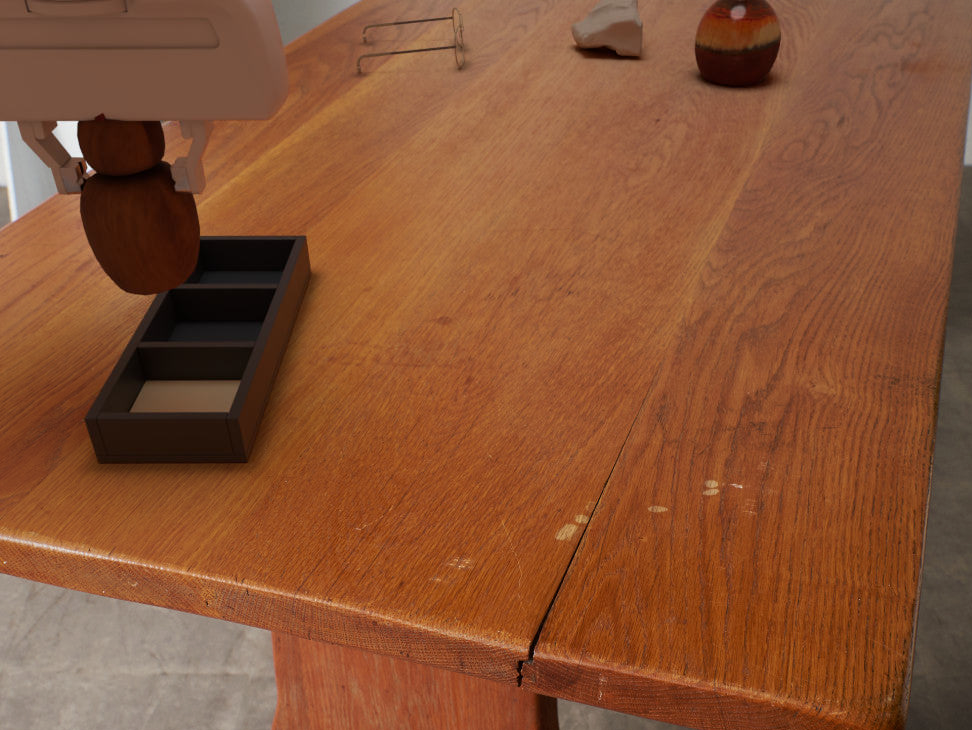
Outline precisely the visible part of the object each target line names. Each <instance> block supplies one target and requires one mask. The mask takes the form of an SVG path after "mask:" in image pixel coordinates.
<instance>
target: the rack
mask: <svg viewBox="0 0 972 730" xmlns="http://www.w3.org/2000/svg"><path fill="white" fill-rule="evenodd" d="M311 275H312V268H311V259H310V254H309V245H308V238H307V235H306V234H305V235H303V234H302V235H301V234H299V235H200V248H199V254H198V260H197V263H196V267H195V271H194V272H193V273H192V274H191V275H190V276H189V277H188V279H187V280H186V281H185V282H184V283H182V284H181V285H180V286H178V287H176V288H173V289H171V290H169V291H165V292H162V293H158V294H155V296H154V298H153V300H152V302H151V303H150V305H149V307H148V309H147V310H146V312H145V314H144V315H143V317H142V318H141V320H140V322H139V324H138V326H137V327H136V329H135V331H134V332H133V334H132V335H131V338H130V340H129V341H128V343H127V345H126V346H125V348H124V350H123V351H122V352H121V354H120V355H119V356H120V357H119V358H118V359H117V361H116V363H115V365H114V367H113V369H112V370H111V372H110V373H109V376H108V377H107V379H106V380H105V382H104V384H103V385H102V387H101V389H100V391H99V393H98V394H97V396H96V398H95V399H94V401H93V403H92V404H91V406H90V408H89V409H88V411H87V413H86V414H85V416H84V418H83V420H84V423H85V427H86V429H87V433H88V436H89V438H90V442H91V444H92V448H93V452H94V454H95V456H96V461H97V462H98V464H101V463H102V464H105V463H107V464H108V463H109V464H111V463H113V464H114V463H117V464H118V463H120V464H121V463H123V464H125V463H127V464H129V463H132V464H133V463H135V464H136V463H137V464H138V463H141V464H142V463H151V464H153V463H159V464H160V463H161V464H162V463H247V462H248V461H249V458H250V454H251V452H252V450H253V446H254V443H255V441H256V440H255V439H256V437H257V434H258V431H259V429H260V426H261V422H262V419H263V416H264V414H265V412H266V411H265V410H266V408H267V405H268V403H269V402H268V401H269V399H270V396H271V393H272V390H273V387H274V383H275V381H276V379H277V375H278V373H279V371H280V370H279V369H280V366H281V364H282V360H283V358H284V355H285V352H286V350H287V346H288V343H289V341H290V337H291V334H292V331H293V328H294V325H295V322H296V319H297V316H298V313H299V311H300V308H301V305H302V301H303V299H304V295H305V293H306V290H307V287H308V284H309V281H310V278H311Z"/></svg>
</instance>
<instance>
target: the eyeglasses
mask: <svg viewBox="0 0 972 730" xmlns="http://www.w3.org/2000/svg"><path fill="white" fill-rule="evenodd" d="M455 10H456V12H457V14H458V21H459V24H458V26H457V28H456V27H455V17H454V13H455ZM446 20H452V27H453V28H452V29H453V34H454V33H455V34H454V40H453V45H447V46H438V47H427V48H419V49H418V48H417V49H409V50H400V51H399V50H398V51H387V52H378V53H368V54H367V53H366V54H362V55H360V56H359V57H358V58H357V60H356V69H357V73H358V74H362V68H361V64H360V63H361V60H363V59H364V58H366V59H367V58H374V57H384V56H394V55H402V54H412V53H413V54H414V53H422V52H432V51H442V50H450V49H451V50H452V49H454V57H455V63H456V65H457V67H458V68H463V66H464V63H465V49H464V39H463V38H464V37H463V32H464V31H465V26H464V19H463V14H462V13H460V11H459V9H458V8H457V7H454V8H453V9H452V12H451V16H445V17H444V16H443V17H435V18H426V19H416V20H406V21H395V22H394V21H393V22H384V23H383V22H382V23H375V24H374V23H373V24H368V25H366V26H365V27H364V28H363V30H362V35H363V34H366V32H367V30H368V29H370V28H381V27H388V26H389V27H390V26H399V25H409V24H417V23H418V24H419V23H428V22H437V21H446ZM457 33H458V34H457ZM457 35H459V36H458V37H459V38H460V40H461V42H460V41H459V39H458V37H457ZM362 41H363V43H367V42H368V39H367V36H366V37H363V36H362ZM457 44H458V45H459V47H461V49H462V51H461V52H462V62H461V65H460V64H459V61H458V55H457ZM463 53H464V54H463ZM357 67H360V68H357Z"/></svg>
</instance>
